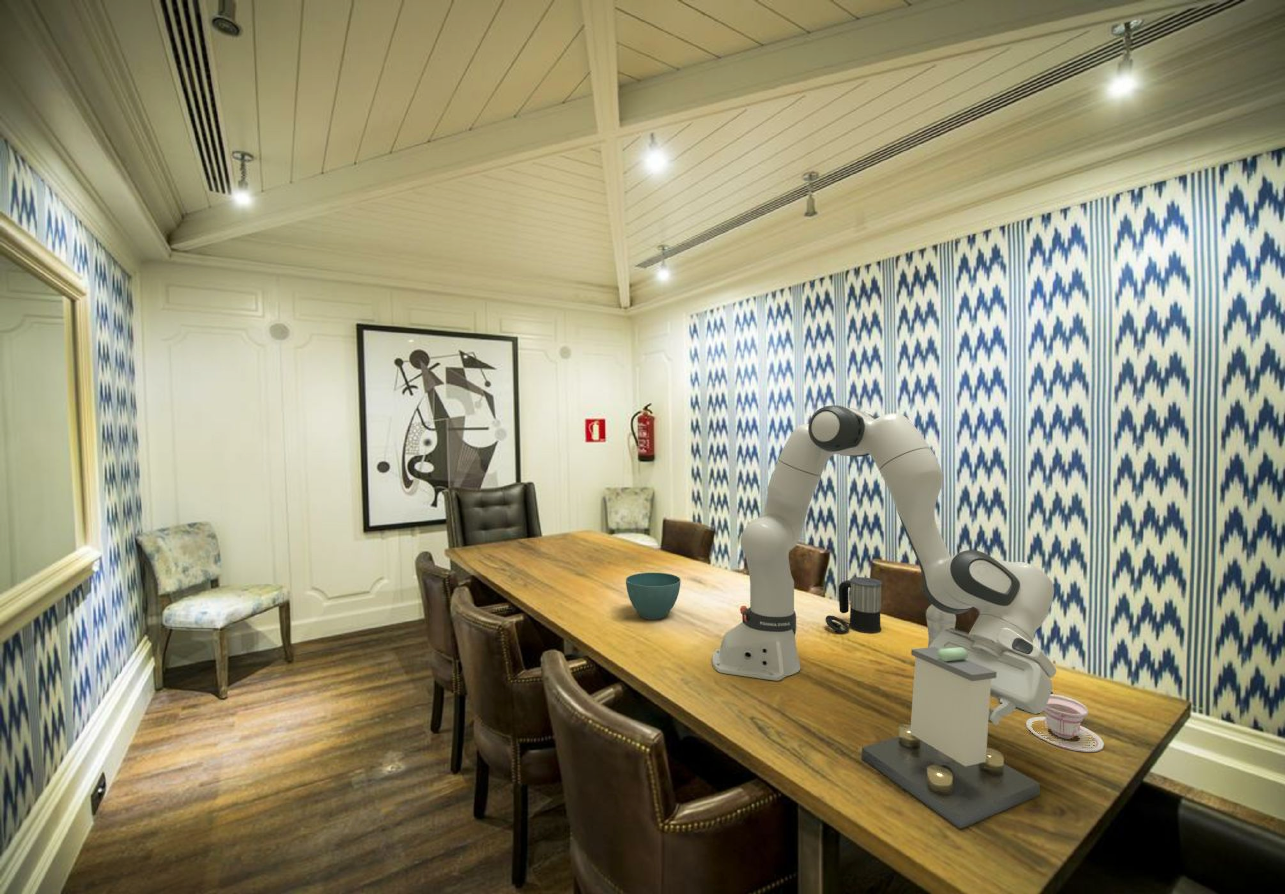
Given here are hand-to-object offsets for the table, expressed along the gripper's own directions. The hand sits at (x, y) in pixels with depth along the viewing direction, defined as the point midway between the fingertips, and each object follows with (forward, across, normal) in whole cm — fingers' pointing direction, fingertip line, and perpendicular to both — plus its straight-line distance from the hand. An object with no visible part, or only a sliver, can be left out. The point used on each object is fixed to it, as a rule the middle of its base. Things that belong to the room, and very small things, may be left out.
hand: (962, 708), depth 92 cm
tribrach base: (+11, 0, +5) cm, 12 cm away
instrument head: (+9, 0, +3) cm, 10 cm away
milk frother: (-17, -60, +33) cm, 71 cm away
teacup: (-12, 0, +29) cm, 31 cm away
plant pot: (+18, -97, -4) cm, 98 cm away
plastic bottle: (-14, -28, +30) cm, 44 cm away
